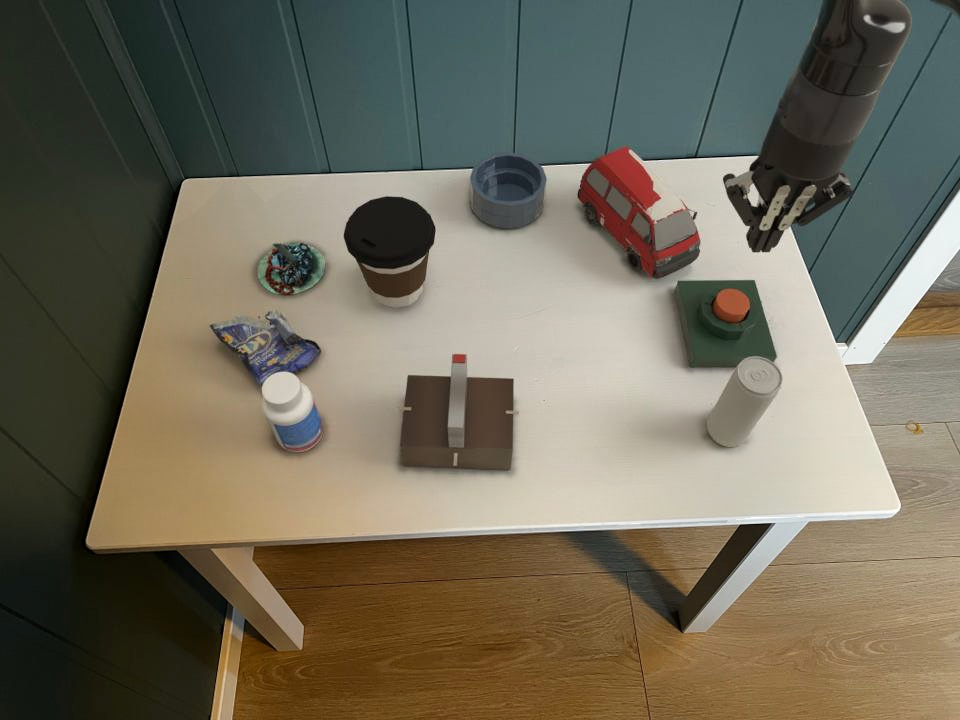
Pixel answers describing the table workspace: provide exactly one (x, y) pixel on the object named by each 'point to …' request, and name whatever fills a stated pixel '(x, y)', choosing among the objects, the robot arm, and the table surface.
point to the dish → (291, 268)
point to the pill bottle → (291, 412)
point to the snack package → (267, 345)
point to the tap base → (483, 424)
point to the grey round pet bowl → (507, 189)
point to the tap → (457, 401)
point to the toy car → (640, 213)
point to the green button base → (721, 325)
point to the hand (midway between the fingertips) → (758, 246)
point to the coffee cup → (391, 247)
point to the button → (731, 305)
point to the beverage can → (744, 400)
